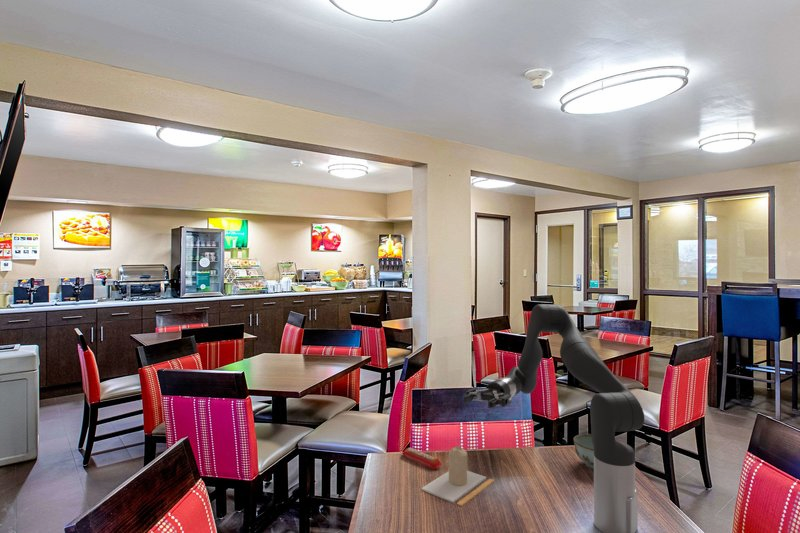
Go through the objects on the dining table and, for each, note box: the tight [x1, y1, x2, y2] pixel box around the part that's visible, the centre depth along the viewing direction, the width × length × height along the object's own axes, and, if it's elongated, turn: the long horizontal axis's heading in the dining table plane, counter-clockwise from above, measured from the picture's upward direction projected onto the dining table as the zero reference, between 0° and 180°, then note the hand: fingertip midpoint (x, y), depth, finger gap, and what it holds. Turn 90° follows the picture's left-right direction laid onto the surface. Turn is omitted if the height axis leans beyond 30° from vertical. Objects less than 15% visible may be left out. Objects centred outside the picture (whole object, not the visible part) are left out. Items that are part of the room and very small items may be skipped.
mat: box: [421, 470, 487, 504], centre depth 133 cm, size 11×18×1 cm, turn 140°
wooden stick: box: [456, 478, 495, 507], centre depth 128 cm, size 2×18×1 cm, turn 140°
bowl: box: [573, 433, 594, 471], centre depth 144 cm, size 14×13×8 cm
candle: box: [448, 446, 468, 486], centre depth 134 cm, size 6×6×10 cm
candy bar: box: [401, 446, 443, 470], centre depth 148 cm, size 16×4×3 cm, turn 44°
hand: (477, 402), depth 142 cm, fingers open, 8 cm apart
